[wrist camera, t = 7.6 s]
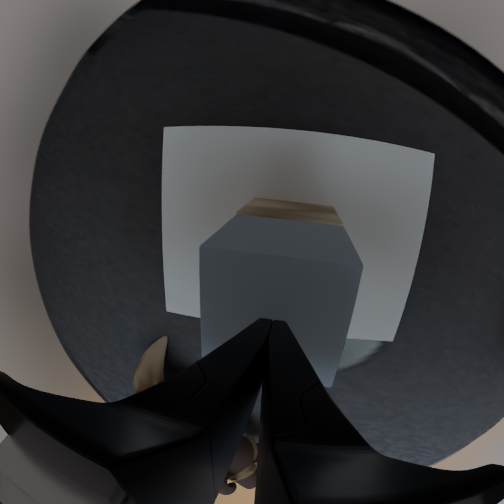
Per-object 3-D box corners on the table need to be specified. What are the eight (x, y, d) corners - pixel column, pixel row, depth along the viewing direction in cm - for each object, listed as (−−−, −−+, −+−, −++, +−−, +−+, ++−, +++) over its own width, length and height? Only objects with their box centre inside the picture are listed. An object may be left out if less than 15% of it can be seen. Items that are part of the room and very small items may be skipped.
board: (432, 153, 15) (434, 153, 15) (391, 338, 20) (392, 341, 20) (166, 127, 18) (163, 127, 18) (168, 308, 23) (166, 311, 22)
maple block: (333, 206, 17) (343, 224, 13) (322, 279, 19) (326, 318, 14) (254, 197, 18) (236, 212, 14) (249, 270, 20) (231, 306, 15)
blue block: (343, 226, 13) (363, 265, 8) (326, 319, 14) (331, 387, 10) (236, 214, 14) (199, 246, 9) (232, 308, 15) (202, 368, 11)
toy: (229, 441, 29) (123, 369, 26) (280, 415, 26) (163, 329, 24) (216, 517, 18) (76, 443, 16) (279, 504, 16) (110, 418, 14)
